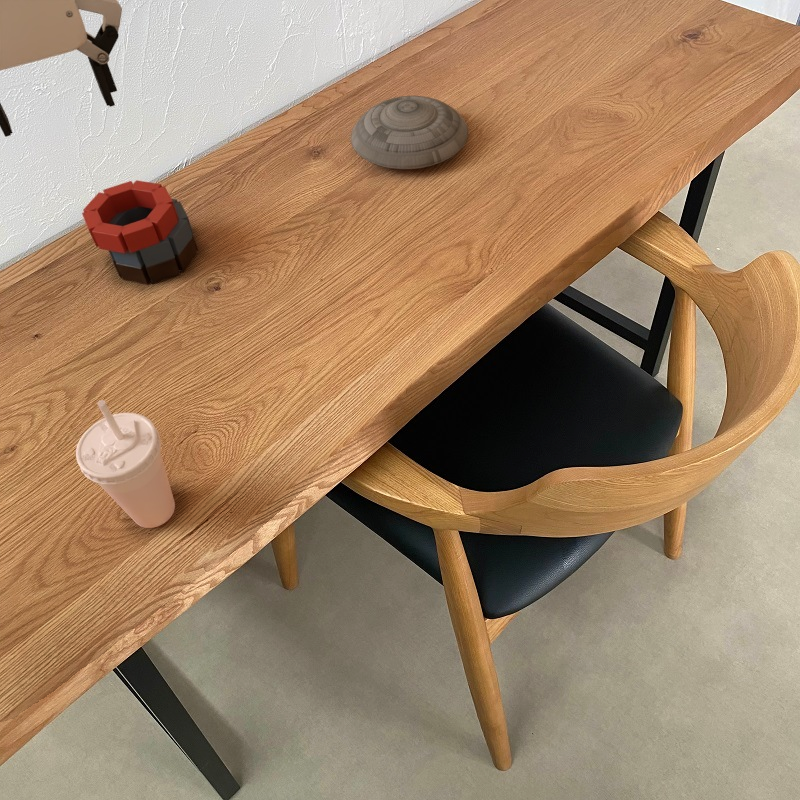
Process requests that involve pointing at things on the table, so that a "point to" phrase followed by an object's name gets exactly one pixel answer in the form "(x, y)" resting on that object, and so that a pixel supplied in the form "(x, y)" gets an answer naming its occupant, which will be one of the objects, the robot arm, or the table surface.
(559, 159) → the table surface
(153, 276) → the ring bottom
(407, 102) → the flying saucer
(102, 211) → the ring top
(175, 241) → the ring middle
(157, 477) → the smoothie
